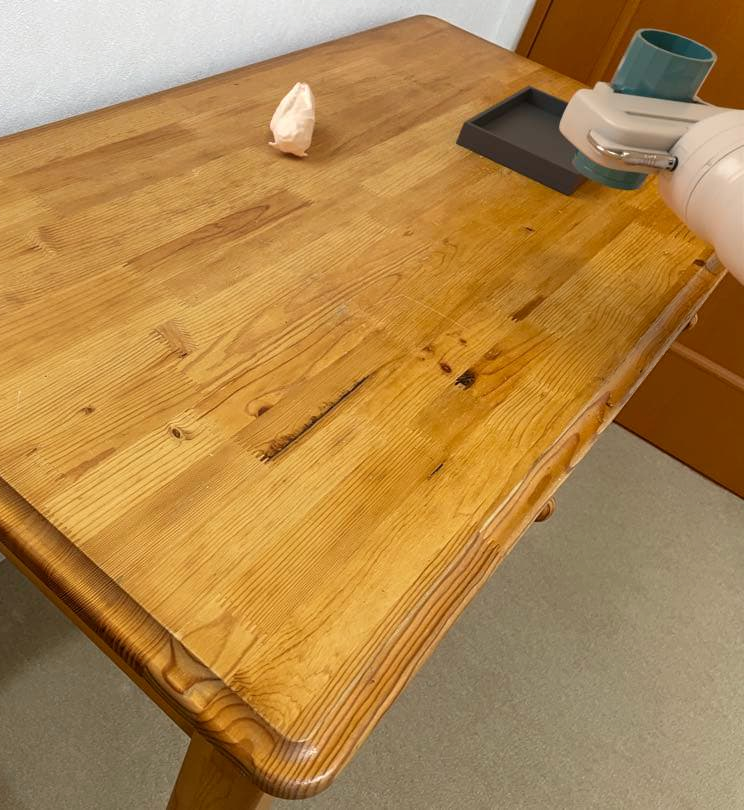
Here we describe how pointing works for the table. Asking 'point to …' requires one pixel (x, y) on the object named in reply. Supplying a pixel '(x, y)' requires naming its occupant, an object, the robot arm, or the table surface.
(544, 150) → the tray
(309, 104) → the white crumpled piece
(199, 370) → the table surface
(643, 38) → the cup
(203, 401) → the table surface
